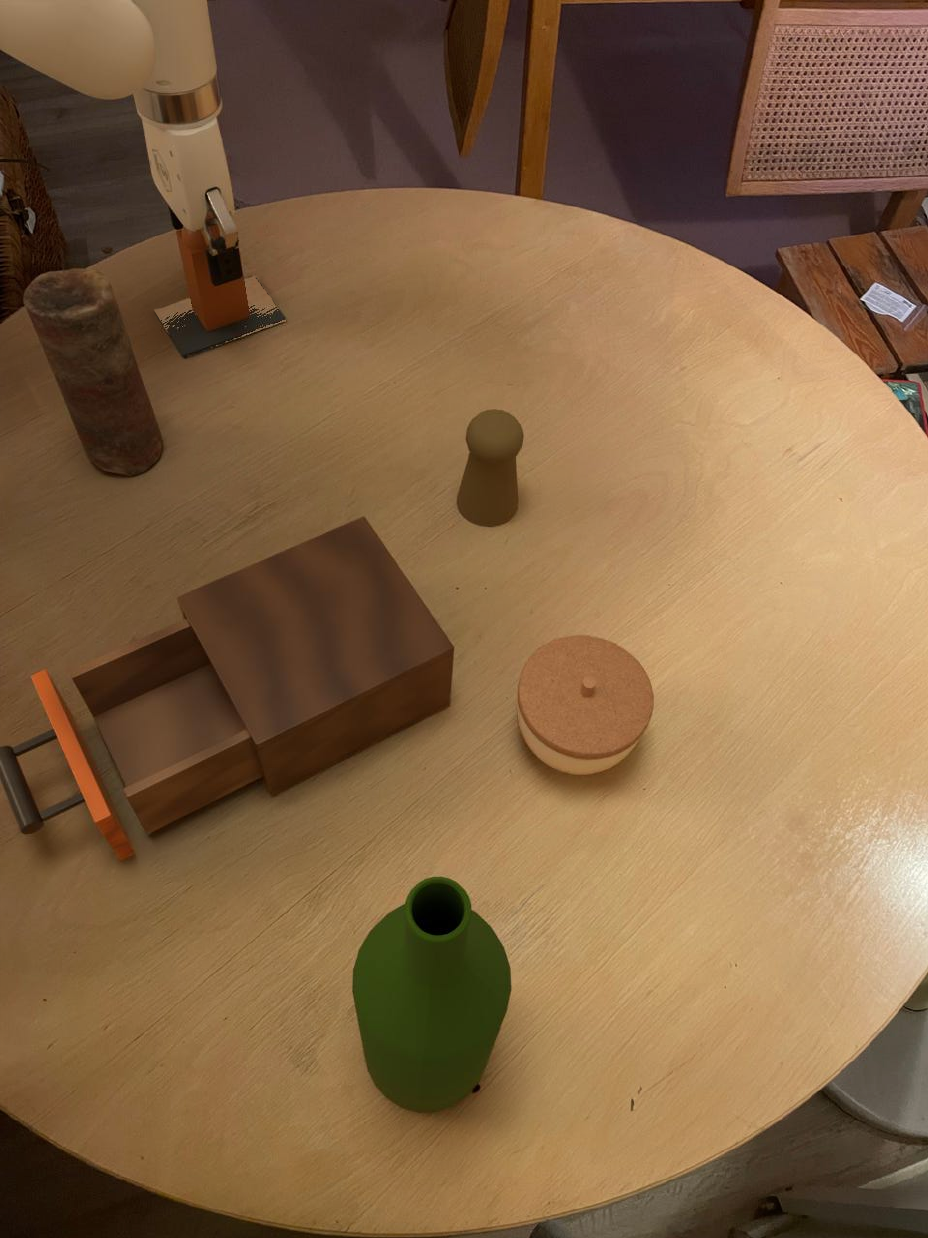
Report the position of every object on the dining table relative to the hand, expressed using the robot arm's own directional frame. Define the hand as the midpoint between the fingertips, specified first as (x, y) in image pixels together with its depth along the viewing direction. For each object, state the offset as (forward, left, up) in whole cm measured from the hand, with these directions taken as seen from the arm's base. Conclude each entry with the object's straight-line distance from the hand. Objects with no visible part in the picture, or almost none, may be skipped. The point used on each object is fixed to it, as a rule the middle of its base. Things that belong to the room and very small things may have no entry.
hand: (207, 252), depth 106 cm
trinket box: (+5, -61, -9) cm, 62 cm away
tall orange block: (0, 0, -8) cm, 8 cm away
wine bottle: (-18, -76, -9) cm, 79 cm away
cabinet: (-11, -46, -9) cm, 48 cm away
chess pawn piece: (+12, -36, -9) cm, 39 cm away
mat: (0, 0, -9) cm, 9 cm away
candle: (-16, -13, -9) cm, 22 cm away
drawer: (-26, -46, -8) cm, 53 cm away
